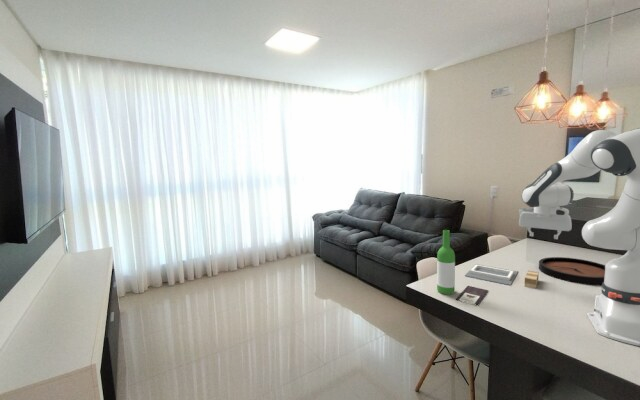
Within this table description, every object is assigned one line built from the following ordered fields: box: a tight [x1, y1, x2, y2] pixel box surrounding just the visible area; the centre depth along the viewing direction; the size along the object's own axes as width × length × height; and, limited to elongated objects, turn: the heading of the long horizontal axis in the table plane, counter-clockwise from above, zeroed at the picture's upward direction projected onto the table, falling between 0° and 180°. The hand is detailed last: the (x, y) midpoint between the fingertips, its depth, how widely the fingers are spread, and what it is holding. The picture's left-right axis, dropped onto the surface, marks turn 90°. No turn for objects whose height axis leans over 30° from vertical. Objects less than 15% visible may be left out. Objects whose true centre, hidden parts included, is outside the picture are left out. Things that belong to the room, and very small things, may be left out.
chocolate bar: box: [455, 285, 489, 306], centre depth 137 cm, size 9×1×18 cm
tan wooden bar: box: [524, 270, 539, 289], centre depth 147 cm, size 12×4×4 cm, turn 139°
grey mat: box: [464, 263, 519, 286], centre depth 161 cm, size 22×21×2 cm
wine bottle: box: [436, 229, 456, 295], centre depth 140 cm, size 8×8×30 cm
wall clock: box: [538, 256, 606, 286], centre depth 157 cm, size 31×4×31 cm
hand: (543, 237), depth 143 cm, fingers open, 8 cm apart
